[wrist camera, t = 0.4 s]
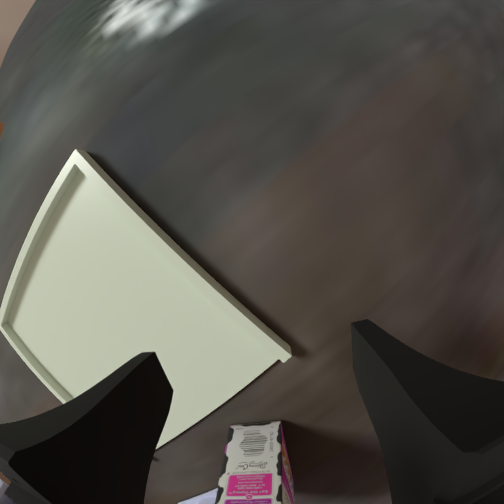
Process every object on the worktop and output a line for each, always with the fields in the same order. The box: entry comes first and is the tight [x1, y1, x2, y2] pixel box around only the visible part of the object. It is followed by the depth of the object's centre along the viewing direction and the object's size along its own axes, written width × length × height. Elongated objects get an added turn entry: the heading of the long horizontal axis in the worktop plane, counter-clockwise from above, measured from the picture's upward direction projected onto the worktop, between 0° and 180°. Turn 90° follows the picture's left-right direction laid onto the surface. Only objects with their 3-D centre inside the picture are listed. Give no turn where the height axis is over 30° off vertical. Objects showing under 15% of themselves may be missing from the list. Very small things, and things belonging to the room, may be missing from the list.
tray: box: [0, 149, 292, 449], centre depth 21 cm, size 22×22×2 cm
